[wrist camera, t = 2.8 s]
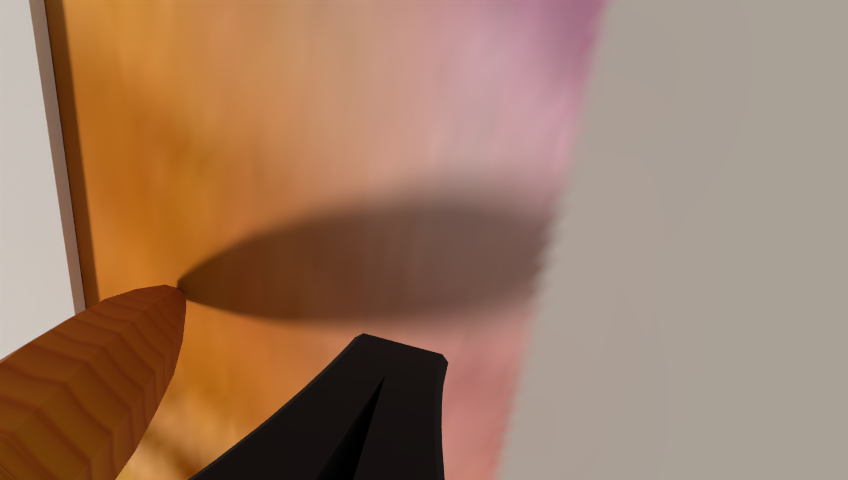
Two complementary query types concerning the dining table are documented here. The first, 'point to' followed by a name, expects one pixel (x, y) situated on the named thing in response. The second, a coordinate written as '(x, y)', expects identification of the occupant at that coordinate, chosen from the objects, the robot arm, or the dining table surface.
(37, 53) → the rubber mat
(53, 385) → the carrot
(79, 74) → the dining table surface
